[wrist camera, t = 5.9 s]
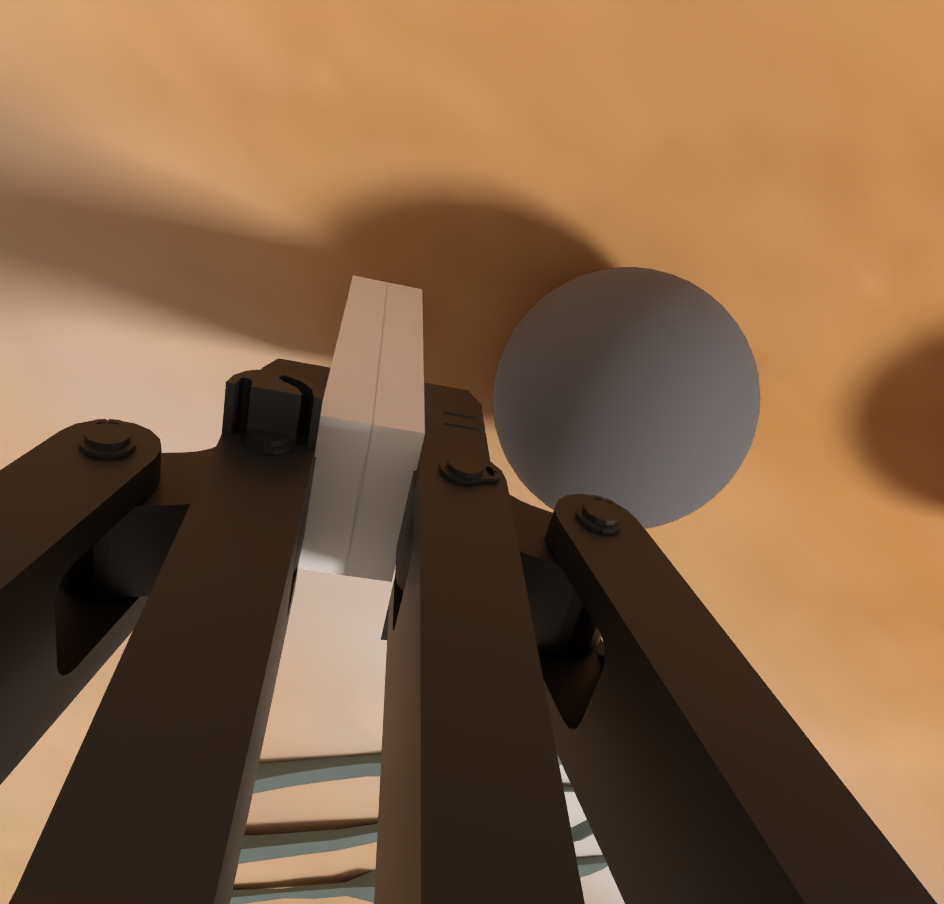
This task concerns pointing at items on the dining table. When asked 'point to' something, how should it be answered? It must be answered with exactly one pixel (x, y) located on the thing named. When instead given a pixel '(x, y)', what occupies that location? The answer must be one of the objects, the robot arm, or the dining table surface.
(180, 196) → the dining table surface
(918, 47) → the dining table surface
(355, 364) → the robot arm
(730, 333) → the gray ball
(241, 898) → the cutlery set
